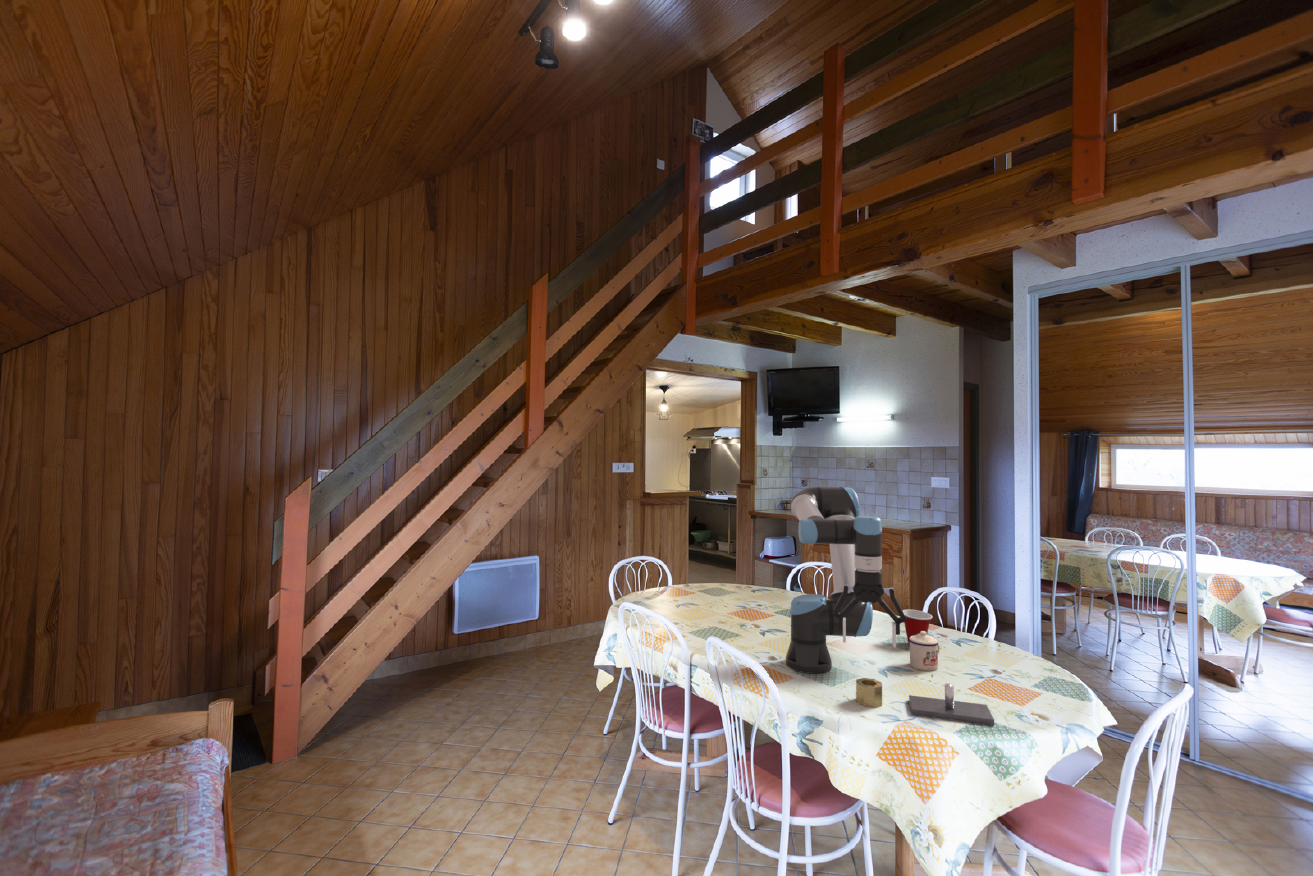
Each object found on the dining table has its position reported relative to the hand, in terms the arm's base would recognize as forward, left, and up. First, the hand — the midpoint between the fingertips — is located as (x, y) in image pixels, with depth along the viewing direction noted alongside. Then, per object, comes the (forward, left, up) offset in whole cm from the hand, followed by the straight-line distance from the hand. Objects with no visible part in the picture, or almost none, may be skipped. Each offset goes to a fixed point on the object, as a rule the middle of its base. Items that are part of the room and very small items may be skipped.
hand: (869, 643), depth 171 cm
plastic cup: (+18, +61, -17) cm, 66 cm away
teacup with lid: (+19, +38, -17) cm, 46 cm away
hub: (0, 0, -17) cm, 17 cm away
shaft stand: (+21, 0, -17) cm, 27 cm away
